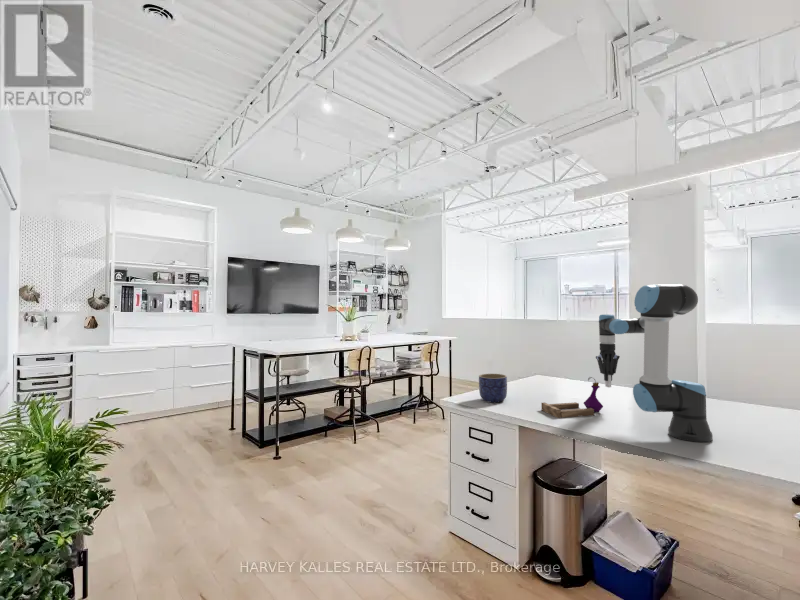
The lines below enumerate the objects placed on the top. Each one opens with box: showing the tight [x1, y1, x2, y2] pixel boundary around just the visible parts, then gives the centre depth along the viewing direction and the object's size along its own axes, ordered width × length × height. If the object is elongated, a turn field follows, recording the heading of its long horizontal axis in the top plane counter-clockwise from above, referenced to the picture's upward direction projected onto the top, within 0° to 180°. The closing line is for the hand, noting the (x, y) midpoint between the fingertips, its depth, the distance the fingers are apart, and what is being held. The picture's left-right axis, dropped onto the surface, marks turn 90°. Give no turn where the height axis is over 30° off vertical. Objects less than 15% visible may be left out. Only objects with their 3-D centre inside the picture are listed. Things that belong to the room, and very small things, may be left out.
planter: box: [478, 373, 508, 404], centre depth 235 cm, size 17×16×15 cm
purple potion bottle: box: [583, 376, 604, 413], centre depth 208 cm, size 8×8×18 cm
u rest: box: [541, 402, 595, 419], centre depth 206 cm, size 15×20×4 cm
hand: (608, 386), depth 210 cm, fingers closed
